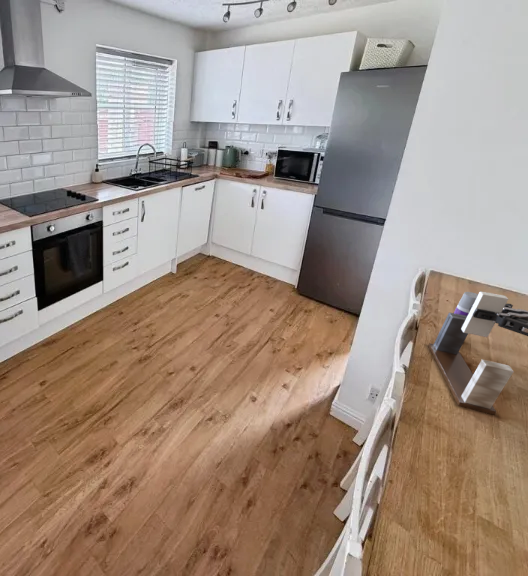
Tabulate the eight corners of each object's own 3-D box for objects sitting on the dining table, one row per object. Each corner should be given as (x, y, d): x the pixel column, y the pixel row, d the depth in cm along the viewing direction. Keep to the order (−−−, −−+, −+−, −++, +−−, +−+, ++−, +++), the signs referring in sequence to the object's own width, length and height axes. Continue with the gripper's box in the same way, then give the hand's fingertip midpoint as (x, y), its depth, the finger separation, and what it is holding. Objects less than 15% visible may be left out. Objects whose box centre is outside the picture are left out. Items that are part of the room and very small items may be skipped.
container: (458, 343, 112) (481, 300, 105) (440, 336, 115) (461, 293, 108) (463, 339, 114) (486, 296, 107) (446, 332, 117) (466, 290, 111)
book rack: (455, 352, 107) (474, 316, 102) (494, 415, 85) (520, 374, 80) (427, 345, 110) (444, 311, 104) (458, 405, 87) (481, 364, 82)
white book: (484, 333, 94) (504, 295, 89) (487, 337, 92) (508, 298, 87) (460, 328, 96) (479, 291, 91) (463, 332, 94) (483, 294, 89)
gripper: (553, 301, 91) (469, 286, 96) (589, 327, 79) (490, 309, 85) (538, 326, 94) (456, 311, 100) (570, 356, 82) (476, 336, 88)
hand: (472, 310), depth 92 cm, fingers closed on white book, 2 cm apart
